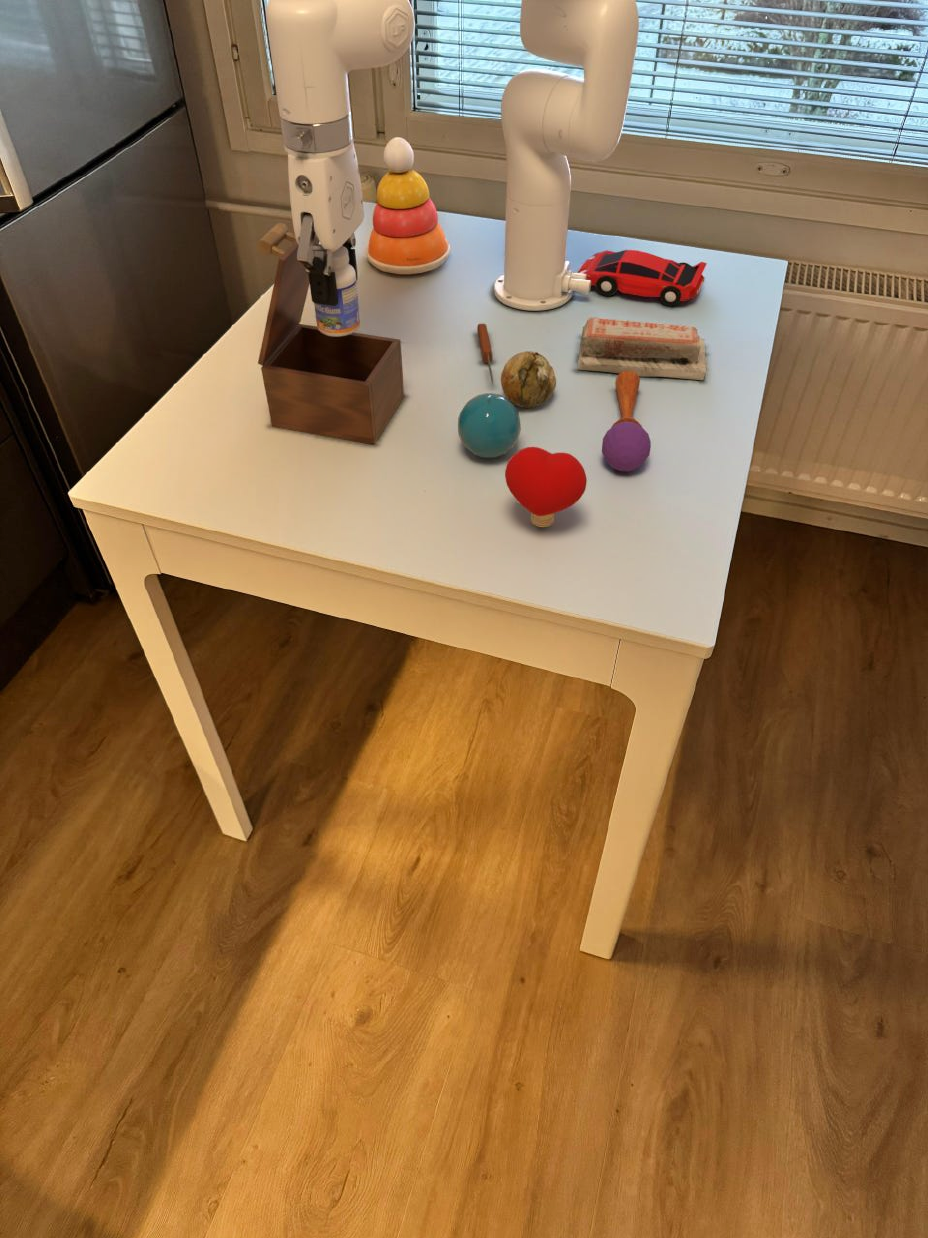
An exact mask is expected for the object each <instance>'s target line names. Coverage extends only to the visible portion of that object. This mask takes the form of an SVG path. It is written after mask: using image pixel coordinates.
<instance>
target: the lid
mask: <svg viewBox="0 0 928 1238" xmlns="http://www.w3.org/2000/svg"><path fill="white" fill-rule="evenodd" d="M284 240H287V241H289V242H291V243H292V244H291V245H290V246H289V247H288V248H287V249H286V250H283V249H281V248H279V246H280V245H281V243H283V242H284ZM314 243H315V244H320V241H319V239H314ZM256 244H257V245H256V247H257V250H258V252H259V253H260V254H262V255H264V256H269V255H271V254H272V255H273V256H276V257H278V262H277V267H276V272H275V278H274V282H273V287H272V292H271V297H270V300H269V301H270V302H269V307H268V311H267V316H266V321H265V322H266V323H265V326H264V331H263V336H262V341H261V347H260V351H259V354H258V355H259V356H258V361H257V364H258V365H260V366H261V367H262V366H263V365H264V364H265V363H266V361H267V360H268V359H269V358H270V357H271V356H272V354H273V353H274V352H275V351H276V350H277V349H278V347H279V346H280V345H281V344H282V343H283V342H284V340H285V339H286V338H287V337H288V336H289V335H290V333H291V332H292V331H293V330H294V329H295V328H296V326H297V325H298V324H301V321H302V317H303V313H304V308H305V304H306V300H307V296H308V292H309V289H310V283H309V275H308V273H307V272H306V268H305V267H304V265H303V264H302V263H301V262H299V261H298V260H297V252H298V246H299V245H298V243H297V241H296V238H295V233H292V232H290V230H289V228H288V226H287V225H286V224H285V223H283V222H278V223H276V224H275V225H274V226H273V227H272V228H271V229H270V230H269V231H267V233H266V234H265V235H264V236H262V238H260V239H259V240H258V242H257V243H256ZM314 252H315V250H314Z"/></svg>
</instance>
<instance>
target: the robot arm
mask: <svg viewBox="0 0 928 1238" xmlns="http://www.w3.org/2000/svg"><path fill="white" fill-rule="evenodd" d="M639 17H640V16H639V9H638V5H637V2H636V0H521V4H520V16H519V18H520V19H519V34H520V35H519V36H520V40H521V44H522V46H523V48H524V49H525V50H526V51H527V52H528V53H529V54H531V55H532V56H535V57H538V58H541V59H544V60H547V61H550V62H551V61H552V62H556V63H559V64H560V63H561V64H564V65H565V64H566V65H569V66H574V67H579V68H583V77H579V76H575V75H572V74H568V73H564V72H560V71H555V70H550V69H546V68H545V69H544V68H527V69H524V70H521V71H519V72H517V73H515V74H514V75H513V76H512V77H511V78H510V79H509V81H507V84H506V86H505V88H504V90H503V93H502V97H501V102H500V118H501V120H500V121H501V127H502V134H503V138H504V146H505V147H504V148H505V159H506V161H505V162H506V185H505V187H506V190H505V225H504V258H503V259H504V260H503V262H504V263H503V274H501V275H500V276H498V278H497V279H496V280H495V282H493V283H494V284H493V294H494V296H495V298H496V299H497V300H498V301H499V302H500V303H502V304H503V305H505V306H508V307H510V308H512V309H516V310H522V311H529V312H536V311H538V312H540V311H548V310H553V309H555V308H559V307H561V306H563V305H565V304H567V302H569V301H570V299H572V297H573V294H574V293H573V292H577V293H583V294H590V292H591V287H592V285H591V280H586V274H581V273H578V272H573V270H570V263H571V262H570V261H568V260H566V258H567V257H566V255H567V245H568V244H567V242H568V231H569V230H568V229H569V217H570V206H571V205H570V203H571V193H572V175H571V169H570V165H569V161H568V159H567V158H571V159H575V160H577V161H581V162H582V161H583V162H587V163H599V162H603V161H605V160H606V159H608V158H609V157H610V156H611V155H612V154H613V152H614V151H615V150H616V148H617V146H618V144H619V142H620V139H621V136H622V132H623V128H624V124H625V120H626V119H625V118H626V113H627V108H628V101H629V97H630V90H631V84H632V79H633V78H632V77H633V71H634V70H633V69H634V66H635V59H636V53H637V47H638V41H639V32H640V31H639V30H640V29H639V28H640V18H639ZM265 21H266V22H265V23H266V28H267V36H268V44H269V51H270V57H271V65H272V72H273V79H274V80H273V81H274V87H275V94H276V101H277V108H278V114H279V122H280V128H281V135H282V143H283V149H284V151H285V152H286V153H287V172H288V173H287V174H288V189H289V202H290V212H291V220H292V227H293V232H294V233H293V234H294V235H295V238H296V241H297V243H298V245H299V246H298V252H297V260H298V261H299V262H301V263H302V264H303V265H304V267H305V268H306V272H307V273H308V275H309V283H310V284H309V289H310V296H311V297H310V298H311V301H312V303H313V304H314V303H317V304H323V305H330V306H336V305H337V304H338V294H337V286H336V277H335V272H331V270H332V251H336V250H338V249H339V248H340V247H341V246H344V247H346V248H347V250H348V255H349V263H348V264H350V265H351V266H352V267H353V268H354V270H355V273H356V282H357V281H358V279H359V277H358V265H357V255H356V249H355V248H356V244H357V240H356V236H355V232H356V231H357V230H358V229H359V227H360V226H361V225H362V223H363V221H364V219H365V209H364V199H363V190H362V184H361V177H360V176H361V175H360V170H359V162H358V158H357V154H356V149H355V148H356V147H355V144H354V133H353V132H354V131H353V123H352V121H353V120H352V112H351V101H350V91H349V79H348V74H349V73H350V72H351V71H357V70H365V69H377V68H381V67H386V66H389V65H391V64H393V63H395V62H397V61H398V60H399V59H400V58H401V57H402V56H404V55H405V53H407V50H408V49H409V48H410V46H411V44H412V41H413V38H414V34H415V27H416V22H415V14H414V10H413V7H412V5H411V2H410V0H269V1H268V3H267V5H266V8H265ZM314 239H319V241H320V242H319V244H315V243H314ZM314 250H315V251H323V261H322V260H321V259H320V258H319V257H316V256H315V255H314Z"/></svg>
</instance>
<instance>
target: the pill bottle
mask: <svg viewBox="0 0 928 1238" xmlns="http://www.w3.org/2000/svg"><path fill="white" fill-rule="evenodd" d="M314 255H315V256H316V257H319V258H320V259H321V260H322V261H323V251H315V252H314ZM348 263H349V255H348V250H347V248H346V247H344V246H341V247H340V248H339V249H338V250H336V251H332V270H331V272H335V277H336V286H337V294H338V304H337V305H336V306H330V305H323V304H317V303H314V302H313V305H314V313H315V322H316V326H317V328H318V330H319V331H320V332H321V333H323V334H325V335H328V336H333V337H340V336H346V335H349V334H352V333H353V332H355V333H356V331H358V329H359V328H360V326H361V325H360V324H361V319H360V307H359V296H358V282H357V281H356V273H355V270H354V268H353V267H352V266H351V265H350V264H348Z"/></svg>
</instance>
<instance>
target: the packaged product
mask: <svg viewBox="0 0 928 1238" xmlns="http://www.w3.org/2000/svg"><path fill="white" fill-rule="evenodd" d="M705 345H706V344H705V338H701V336H700V334H699V332H698V329H697V327H696V326H691V325H683V324H669V323H661V322H659V323H658V322H648V321H647V322H646V321H638V320H626V319H616V318H606V317H596V316H595V317H589V318H587V320H586V323H585V324H584V325H583V326H582V330H581V339H580V345H579V354H578V360H577V368H578V371H593V372H603V373H612V374H620V373H621V372H624V371H633V372H635V373H636V374H637V375H638V376H639V377H660V378H661V377H664V378H674V379H675V378H676V379H685V380H698V381H704V378H705V376H706V373H707V366H706V365H707V364H706V363H707V362H706V346H705Z"/></svg>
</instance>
